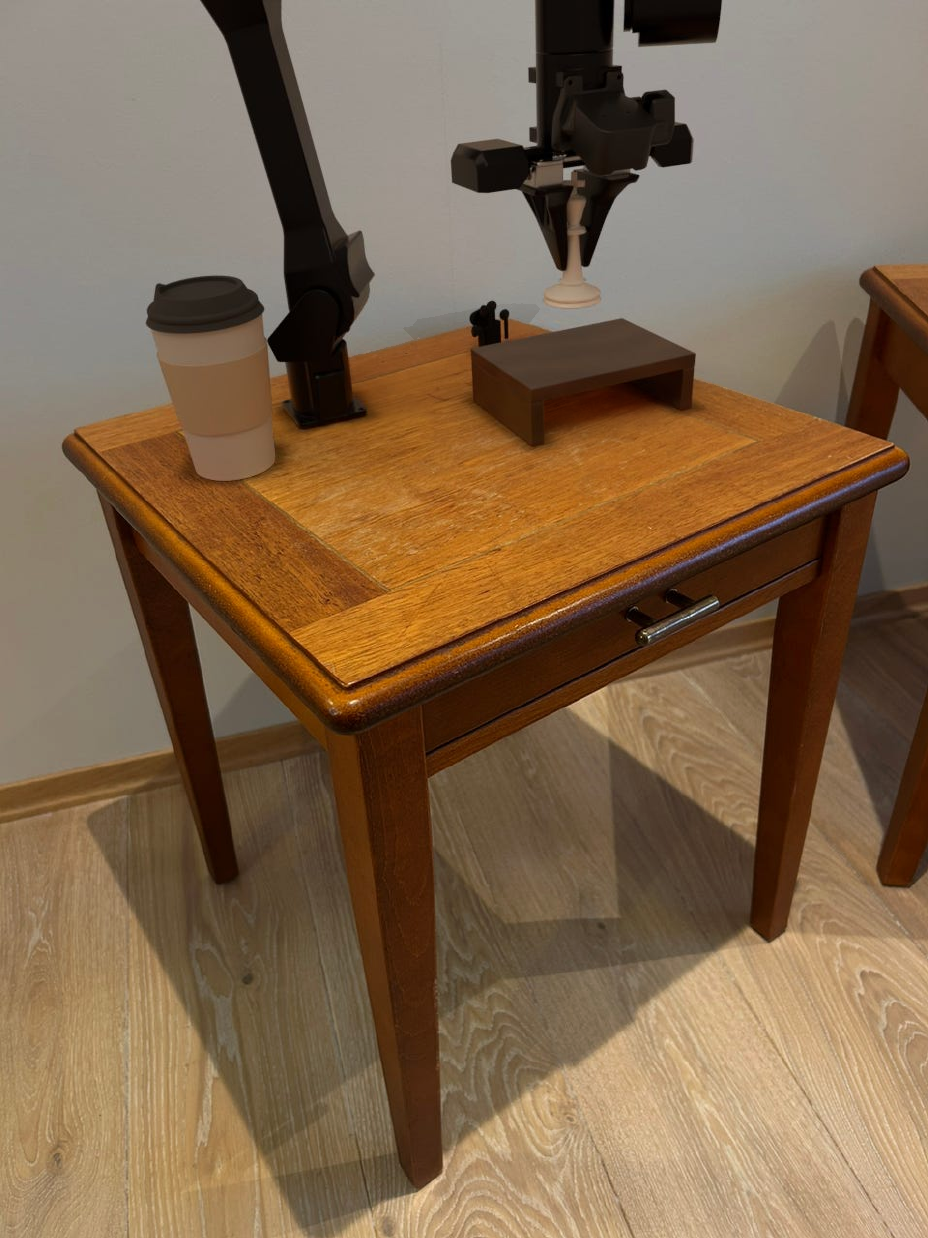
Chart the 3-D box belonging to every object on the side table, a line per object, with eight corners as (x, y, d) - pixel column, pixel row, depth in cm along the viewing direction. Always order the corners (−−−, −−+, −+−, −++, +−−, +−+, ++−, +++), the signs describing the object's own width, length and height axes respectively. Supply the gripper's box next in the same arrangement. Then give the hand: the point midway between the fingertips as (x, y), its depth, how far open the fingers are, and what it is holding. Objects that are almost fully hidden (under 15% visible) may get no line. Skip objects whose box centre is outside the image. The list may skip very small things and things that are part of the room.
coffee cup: (288, 435, 86) (259, 261, 78) (290, 478, 79) (258, 291, 70) (185, 447, 85) (144, 272, 77) (177, 492, 78) (131, 304, 69)
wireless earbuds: (478, 362, 99) (476, 313, 96) (458, 359, 100) (455, 310, 97) (513, 342, 104) (512, 294, 101) (493, 339, 105) (491, 291, 102)
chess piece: (598, 309, 79) (602, 177, 74) (538, 308, 80) (538, 177, 75) (604, 292, 83) (608, 165, 78) (547, 291, 84) (547, 166, 79)
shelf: (473, 400, 91) (470, 348, 88) (620, 368, 95) (622, 317, 93) (531, 446, 81) (531, 389, 78) (691, 408, 86) (696, 353, 83)
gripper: (506, 69, 63) (513, 311, 71) (746, 43, 68) (725, 271, 77) (442, 60, 71) (455, 277, 80) (659, 38, 77) (649, 243, 85)
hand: (572, 267), depth 80 cm, fingers closed on chess piece
